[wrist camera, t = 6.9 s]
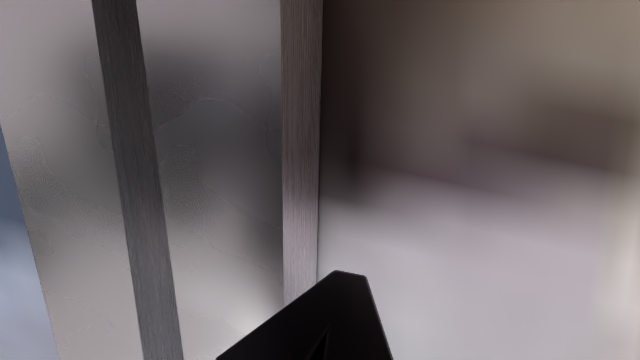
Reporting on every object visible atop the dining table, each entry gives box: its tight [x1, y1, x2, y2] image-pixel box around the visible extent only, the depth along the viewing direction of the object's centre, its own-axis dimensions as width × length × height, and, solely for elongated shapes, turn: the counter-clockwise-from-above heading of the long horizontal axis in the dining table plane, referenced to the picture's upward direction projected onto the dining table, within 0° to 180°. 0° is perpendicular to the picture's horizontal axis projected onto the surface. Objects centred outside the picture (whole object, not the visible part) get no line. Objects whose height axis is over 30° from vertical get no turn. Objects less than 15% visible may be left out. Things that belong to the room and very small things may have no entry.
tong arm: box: [136, 0, 323, 360], centre depth 8 cm, size 3×20×3 cm, turn 179°
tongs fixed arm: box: [0, 0, 184, 360], centre depth 9 cm, size 2×16×2 cm, turn 177°
